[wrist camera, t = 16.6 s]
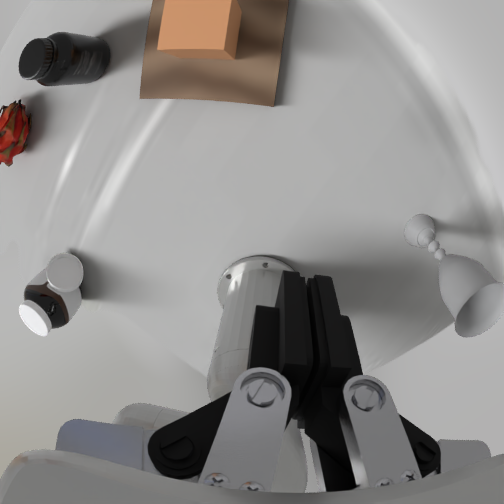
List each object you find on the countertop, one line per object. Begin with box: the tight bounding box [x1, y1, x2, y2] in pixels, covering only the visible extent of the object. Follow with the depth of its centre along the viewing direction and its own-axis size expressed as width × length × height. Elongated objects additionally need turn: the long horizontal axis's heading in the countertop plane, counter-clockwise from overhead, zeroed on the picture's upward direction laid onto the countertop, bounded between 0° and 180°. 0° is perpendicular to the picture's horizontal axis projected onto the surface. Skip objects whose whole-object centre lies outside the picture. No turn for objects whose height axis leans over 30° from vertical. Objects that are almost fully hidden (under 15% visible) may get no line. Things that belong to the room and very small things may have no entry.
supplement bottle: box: [19, 32, 110, 86], centre depth 23 cm, size 7×7×12 cm
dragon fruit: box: [0, 100, 31, 166], centre depth 30 cm, size 8×8×12 cm
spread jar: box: [19, 253, 83, 336], centre depth 41 cm, size 12×11×12 cm
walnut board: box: [140, 0, 289, 107], centre depth 26 cm, size 16×16×2 cm
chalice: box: [404, 214, 504, 337], centre depth 29 cm, size 7×7×18 cm
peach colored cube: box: [157, 0, 242, 60], centre depth 22 cm, size 6×6×7 cm
